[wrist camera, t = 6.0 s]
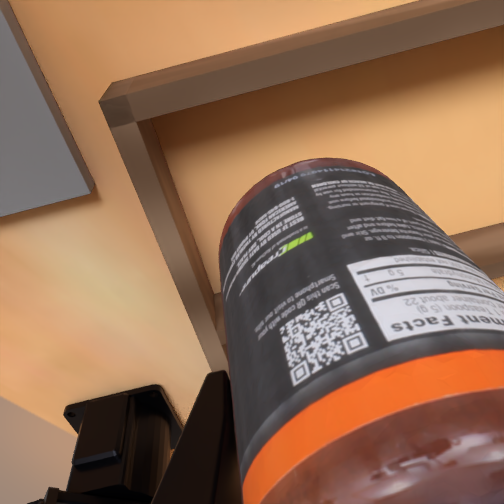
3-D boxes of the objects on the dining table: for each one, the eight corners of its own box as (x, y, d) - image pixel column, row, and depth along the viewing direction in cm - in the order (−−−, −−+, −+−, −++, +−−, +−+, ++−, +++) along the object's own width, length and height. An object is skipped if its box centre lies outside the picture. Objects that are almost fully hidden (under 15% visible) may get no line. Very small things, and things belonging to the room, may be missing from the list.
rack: (558, 308, 28) (593, 341, 26) (231, 387, 29) (235, 426, 27) (646, -61, 17) (723, -65, 15) (111, 82, 18) (98, 101, 15)
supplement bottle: (343, 334, 16) (571, 891, 6) (186, 288, 14) (170, 987, 4) (448, 194, 13) (1135, 800, 3) (271, 112, 11) (732, 960, 2)
